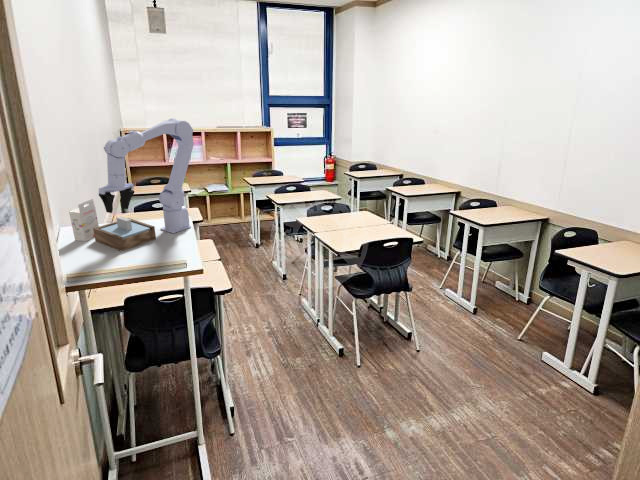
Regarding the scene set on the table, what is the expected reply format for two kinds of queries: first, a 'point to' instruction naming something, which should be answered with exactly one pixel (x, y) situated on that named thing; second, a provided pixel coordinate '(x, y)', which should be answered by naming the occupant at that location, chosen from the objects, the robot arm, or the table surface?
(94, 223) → the ink cartridge box
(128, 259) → the table surface
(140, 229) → the cover plate
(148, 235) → the walnut box
